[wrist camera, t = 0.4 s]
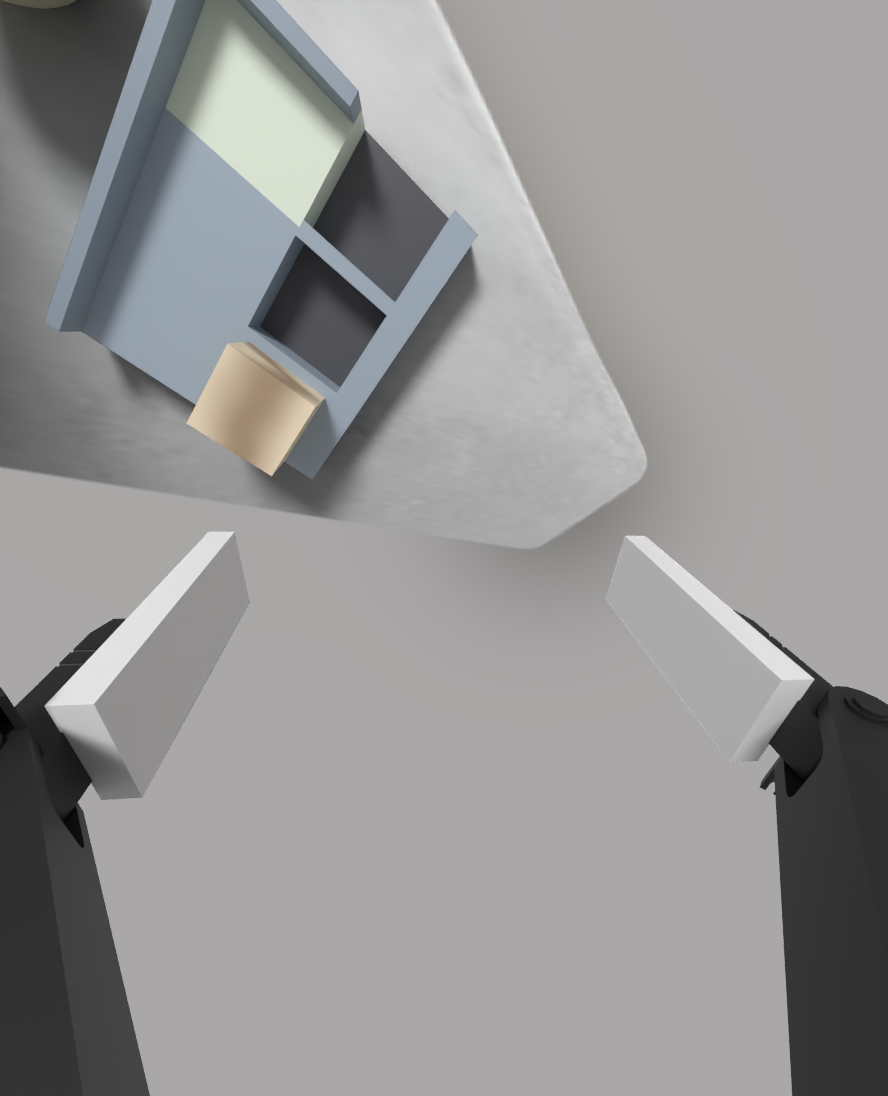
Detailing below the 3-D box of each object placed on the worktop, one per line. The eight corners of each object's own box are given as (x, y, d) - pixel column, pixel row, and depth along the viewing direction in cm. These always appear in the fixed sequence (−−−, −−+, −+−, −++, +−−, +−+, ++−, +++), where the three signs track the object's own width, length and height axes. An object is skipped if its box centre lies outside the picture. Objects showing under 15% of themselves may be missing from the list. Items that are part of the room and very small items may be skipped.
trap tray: (97, 323, 29) (44, 322, 25) (228, -15, 22) (185, -99, 18) (318, 468, 36) (307, 488, 31) (471, 243, 29) (483, 228, 24)
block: (211, 412, 30) (186, 423, 26) (249, 341, 28) (227, 343, 24) (285, 460, 32) (271, 476, 28) (325, 397, 30) (315, 406, 26)
